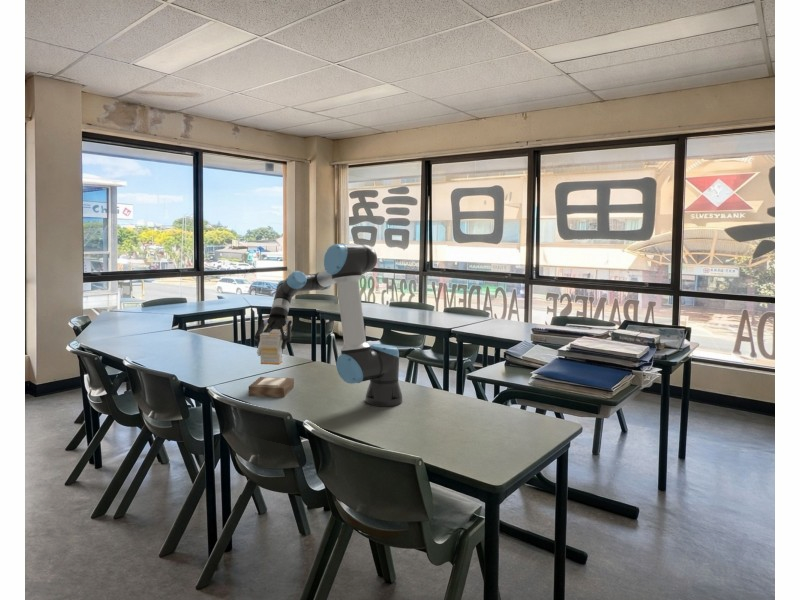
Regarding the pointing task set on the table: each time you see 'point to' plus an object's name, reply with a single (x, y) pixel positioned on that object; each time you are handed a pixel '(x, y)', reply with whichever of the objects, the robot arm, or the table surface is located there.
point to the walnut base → (271, 387)
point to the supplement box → (270, 348)
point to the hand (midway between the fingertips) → (268, 354)
